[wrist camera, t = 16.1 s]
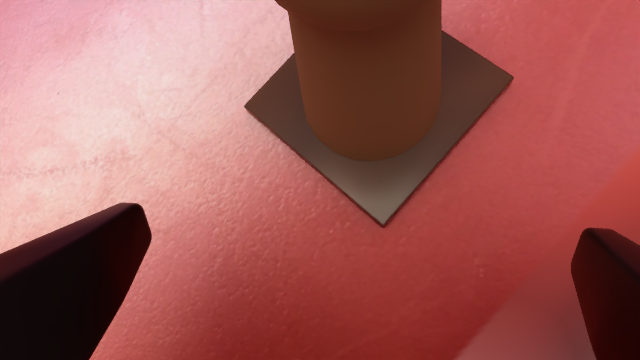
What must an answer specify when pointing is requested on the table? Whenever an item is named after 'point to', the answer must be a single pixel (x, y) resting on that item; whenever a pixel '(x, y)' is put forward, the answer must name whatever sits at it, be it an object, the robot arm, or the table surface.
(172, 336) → the table surface
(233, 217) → the table surface
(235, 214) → the table surface
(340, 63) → the cork
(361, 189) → the dark mat
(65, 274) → the robot arm
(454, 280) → the table surface
